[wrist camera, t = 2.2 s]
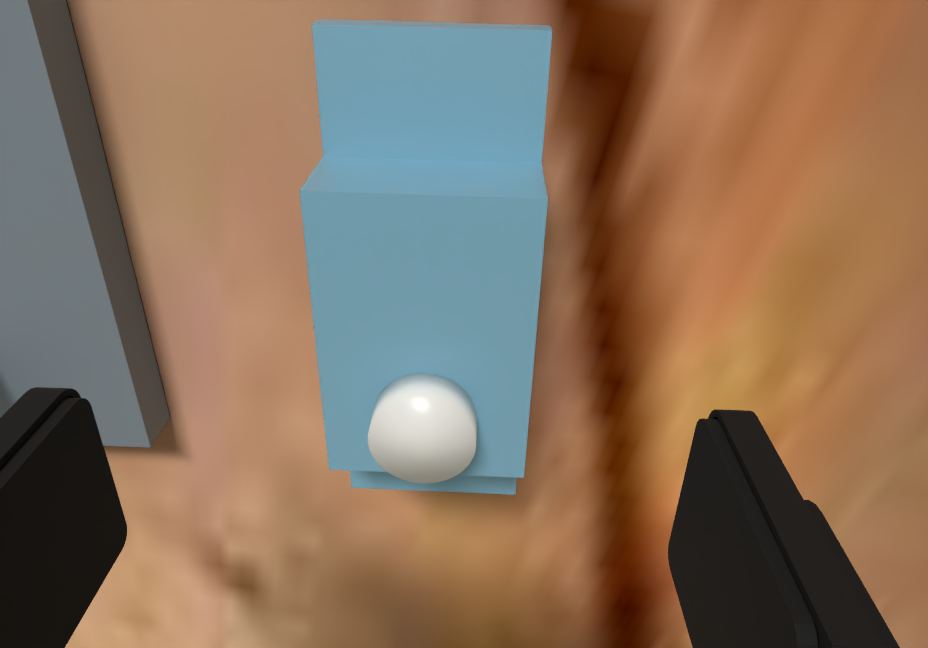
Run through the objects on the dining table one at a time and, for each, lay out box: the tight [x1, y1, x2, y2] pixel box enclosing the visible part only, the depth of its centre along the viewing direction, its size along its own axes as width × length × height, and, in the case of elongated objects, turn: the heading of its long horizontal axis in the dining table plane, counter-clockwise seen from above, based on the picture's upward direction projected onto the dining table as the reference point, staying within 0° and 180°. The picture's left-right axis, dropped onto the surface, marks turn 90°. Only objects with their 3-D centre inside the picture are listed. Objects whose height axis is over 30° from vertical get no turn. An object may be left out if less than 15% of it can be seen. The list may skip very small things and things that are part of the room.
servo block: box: [300, 19, 552, 495], centre depth 15 cm, size 4×10×8 cm, turn 179°
